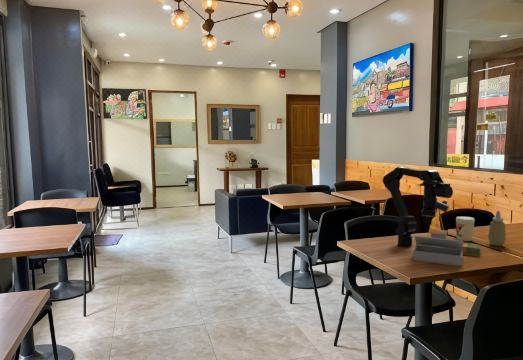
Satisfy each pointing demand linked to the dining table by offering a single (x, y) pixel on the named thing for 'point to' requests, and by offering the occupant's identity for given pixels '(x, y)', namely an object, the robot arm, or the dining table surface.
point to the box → (438, 255)
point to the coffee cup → (464, 228)
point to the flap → (439, 240)
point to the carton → (470, 249)
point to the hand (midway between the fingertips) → (428, 227)
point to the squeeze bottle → (497, 231)
